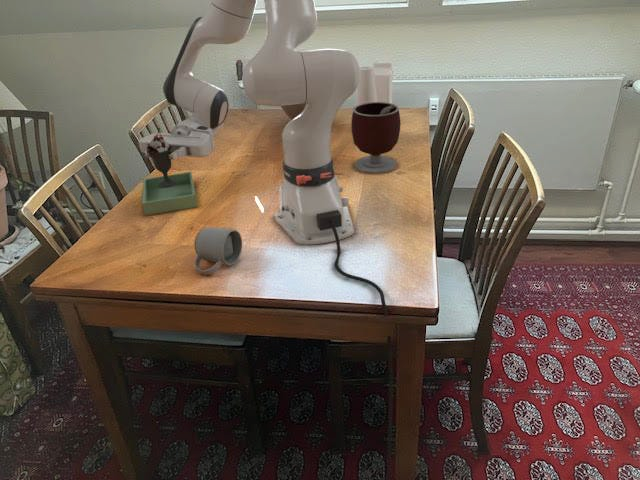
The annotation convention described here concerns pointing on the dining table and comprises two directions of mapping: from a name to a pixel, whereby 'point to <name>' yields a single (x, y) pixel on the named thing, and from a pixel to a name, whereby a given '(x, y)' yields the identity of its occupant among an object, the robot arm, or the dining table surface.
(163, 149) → the sundae
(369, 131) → the mate gourd
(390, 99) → the milk
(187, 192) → the green tray
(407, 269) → the dining table surface
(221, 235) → the ceramic mug
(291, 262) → the dining table surface
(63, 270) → the dining table surface
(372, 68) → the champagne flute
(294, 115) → the ceramic bowl
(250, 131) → the dining table surface
